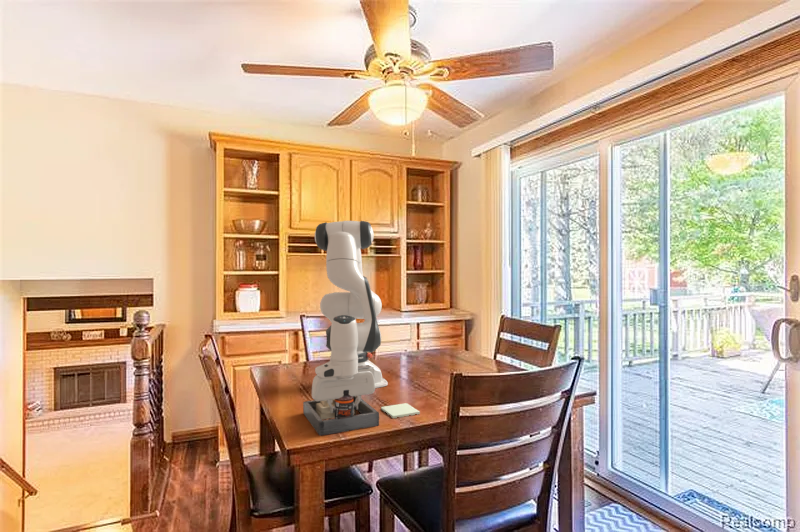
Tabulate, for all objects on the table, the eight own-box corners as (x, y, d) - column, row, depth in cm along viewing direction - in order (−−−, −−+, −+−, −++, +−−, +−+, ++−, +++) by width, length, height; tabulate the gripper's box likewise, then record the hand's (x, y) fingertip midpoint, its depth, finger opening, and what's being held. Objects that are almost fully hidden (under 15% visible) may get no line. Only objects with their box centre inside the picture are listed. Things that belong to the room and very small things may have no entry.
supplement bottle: (337, 428, 132) (337, 392, 132) (332, 422, 137) (332, 386, 137) (355, 425, 134) (356, 389, 134) (350, 419, 139) (350, 384, 139)
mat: (406, 405, 154) (406, 403, 154) (419, 414, 145) (419, 411, 145) (381, 409, 149) (381, 407, 149) (393, 418, 140) (393, 416, 140)
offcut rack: (356, 405, 153) (356, 394, 153) (379, 425, 134) (379, 412, 134) (303, 413, 145) (303, 401, 145) (319, 435, 126) (319, 422, 126)
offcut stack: (349, 409, 150) (349, 392, 150) (355, 414, 144) (355, 397, 144) (315, 414, 145) (315, 396, 145) (320, 420, 139) (320, 402, 139)
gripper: (370, 362, 143) (370, 403, 143) (310, 368, 134) (310, 412, 134) (378, 366, 137) (378, 409, 137) (315, 373, 128) (315, 419, 128)
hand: (344, 410), depth 136 cm, fingers closed on supplement bottle, 6 cm apart
